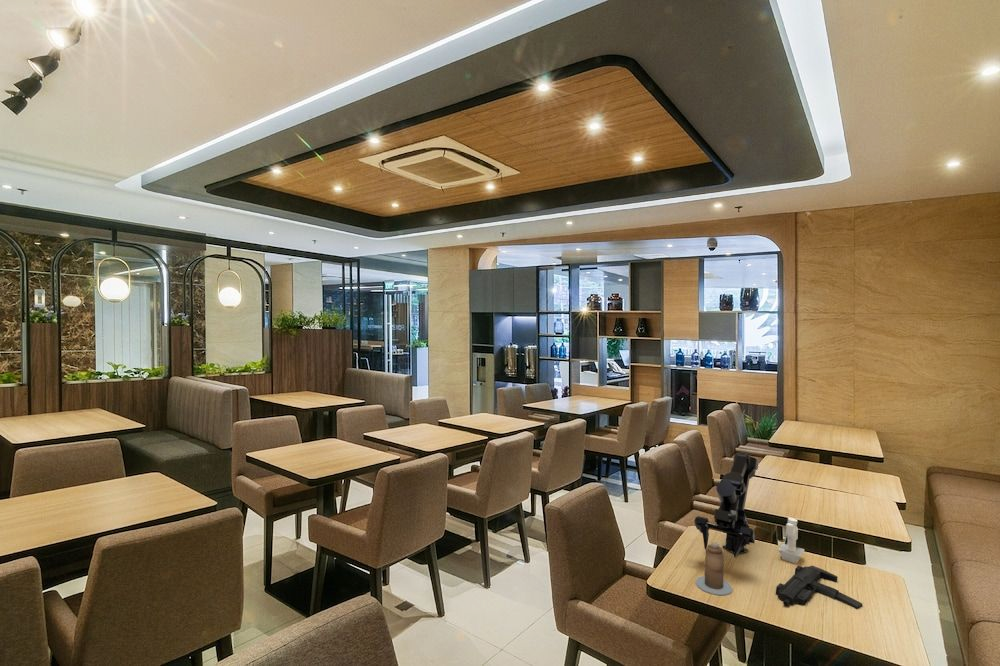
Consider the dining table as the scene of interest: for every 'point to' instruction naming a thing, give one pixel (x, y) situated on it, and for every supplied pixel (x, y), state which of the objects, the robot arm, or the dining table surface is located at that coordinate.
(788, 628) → the dining table surface
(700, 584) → the slate mat
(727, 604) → the dining table surface
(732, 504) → the robot arm
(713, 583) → the pepper mill
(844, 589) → the dining table surface
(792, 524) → the figurine
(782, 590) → the firearm
